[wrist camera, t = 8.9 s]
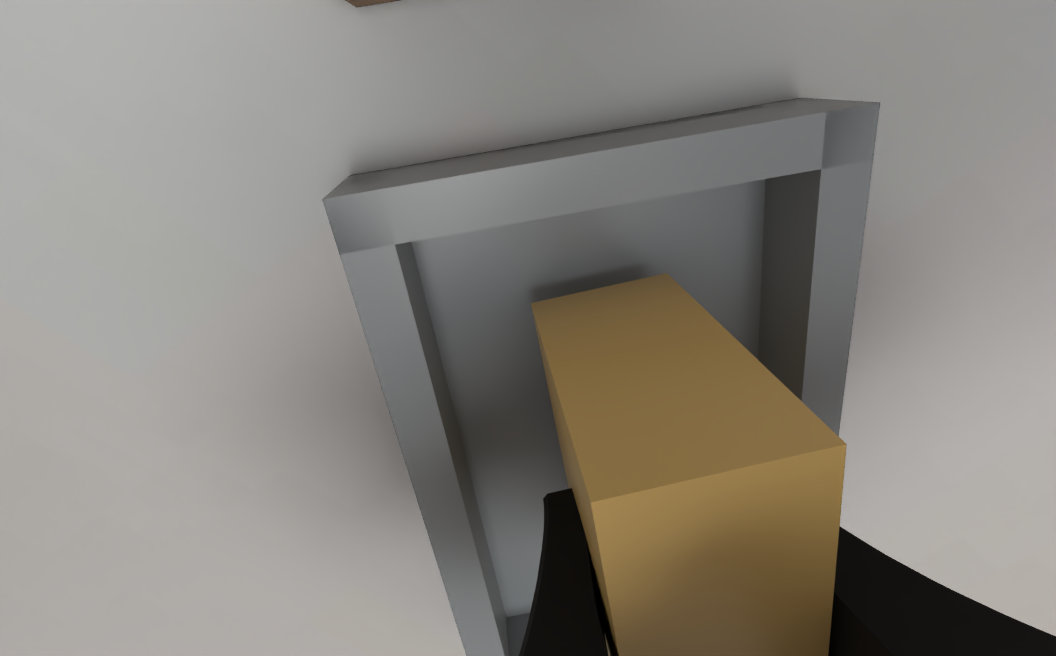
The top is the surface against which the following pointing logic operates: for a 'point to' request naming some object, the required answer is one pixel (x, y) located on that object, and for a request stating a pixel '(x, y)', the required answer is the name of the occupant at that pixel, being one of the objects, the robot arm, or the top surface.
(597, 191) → the tray
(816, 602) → the block
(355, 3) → the brown block pair
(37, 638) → the top surface
